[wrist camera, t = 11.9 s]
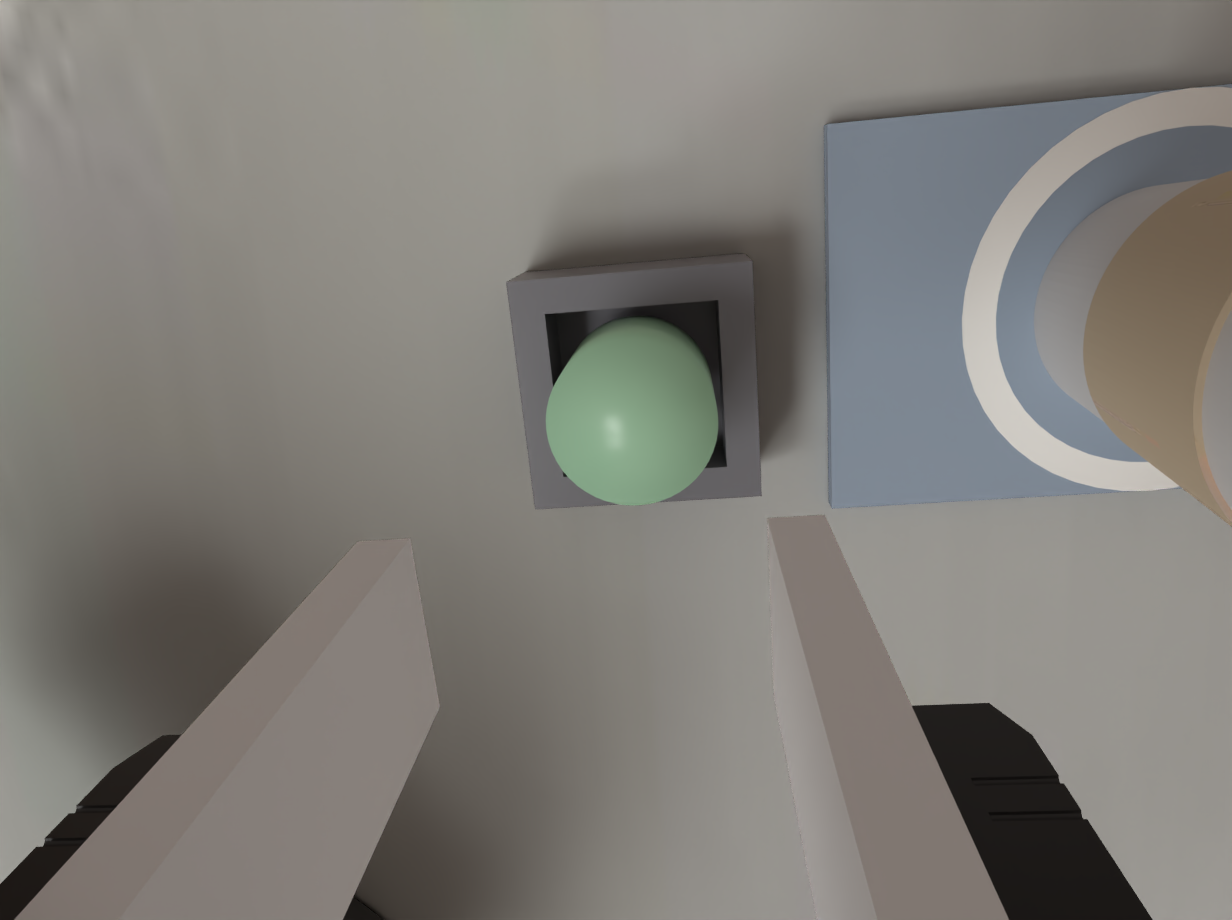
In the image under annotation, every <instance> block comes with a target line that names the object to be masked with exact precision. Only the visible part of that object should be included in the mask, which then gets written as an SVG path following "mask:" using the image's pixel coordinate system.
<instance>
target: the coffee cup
mask: <svg viewBox="0 0 1232 920" xmlns="http://www.w3.org/2000/svg"><path fill="white" fill-rule="evenodd" d="M1034 332H1035V339H1036V344H1037V348H1038V352H1039V355H1040V357H1041V360H1042V362H1043V364H1044V366H1045V368H1046V370H1047V372H1048V373H1049V375H1050V376H1051V378H1052V379H1053V380H1054V382H1055V383H1056V384H1057V385H1058V386H1059V387H1060V388H1061V389H1062V390H1063V391H1064V392H1065V393H1066V394H1067V395H1069V396H1070V397H1071V398H1073V399H1074V400H1075V401H1077V402H1078V403H1079V404H1081V405H1082V406H1083V407H1085V408H1086V409H1087V410H1089V411H1090V412H1091V413H1093V414H1094V415H1095V416H1097V417H1098V418H1099V419H1101V420H1102V421H1103V422H1105V423H1106V425H1107V426H1108V427H1109V428H1110V430H1111V431H1112V432H1113V433H1114V434H1115V435H1116V436H1117V437H1118V438H1119V439H1120V440H1121V441H1122V442H1123V443H1125V444H1126V445H1127V446H1128V447H1130V448H1131V449H1132V450H1133V451H1135V452H1136V453H1137V454H1139V455H1140V456H1141V457H1142V458H1144V459H1145V460H1146V461H1148V462H1149V463H1150V464H1152V465H1153V466H1154V467H1155V468H1157V469H1158V470H1159V471H1161V472H1162V473H1163V474H1164V475H1166V476H1167V477H1168V478H1170V479H1171V480H1172V481H1174V482H1175V483H1176V484H1177V485H1179V486H1180V487H1181V488H1183V489H1184V490H1185V491H1186V492H1188V493H1189V494H1190V495H1192V496H1193V497H1194V498H1196V499H1197V500H1198V501H1199V502H1201V503H1202V504H1203V505H1205V506H1206V507H1207V508H1208V509H1210V510H1211V511H1212V512H1214V513H1215V514H1216V515H1218V516H1219V517H1220V518H1221V519H1223V520H1224V521H1225V522H1227V523H1228V524H1229V525H1230V526H1232V170H1231V171H1228V172H1225V173H1222V174H1219V175H1216V176H1214V177H1211V178H1209V179H1201V180H1194V181H1186V182H1179V183H1171V184H1163V185H1156V186H1151V187H1146V188H1142V189H1139V190H1135V191H1132V192H1130V193H1127V194H1125V195H1122V196H1120V197H1118V198H1116V199H1114V200H1112V201H1110V202H1108V203H1107V204H1105V205H1103V206H1102V207H1100V208H1099V209H1097V210H1096V211H1094V212H1093V213H1092V214H1090V215H1089V216H1088V217H1087V218H1085V219H1084V220H1083V221H1082V222H1081V223H1080V224H1079V225H1078V226H1077V227H1076V228H1075V229H1074V230H1073V231H1072V232H1071V233H1070V234H1069V235H1068V236H1067V237H1066V239H1065V240H1064V241H1063V242H1062V244H1061V245H1060V246H1059V248H1058V249H1057V251H1056V252H1055V254H1054V256H1053V257H1052V259H1051V261H1050V263H1049V265H1048V267H1047V269H1046V271H1045V273H1044V275H1043V278H1042V281H1041V283H1040V286H1039V290H1038V294H1037V298H1036V304H1035V312H1034Z"/></svg>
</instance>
